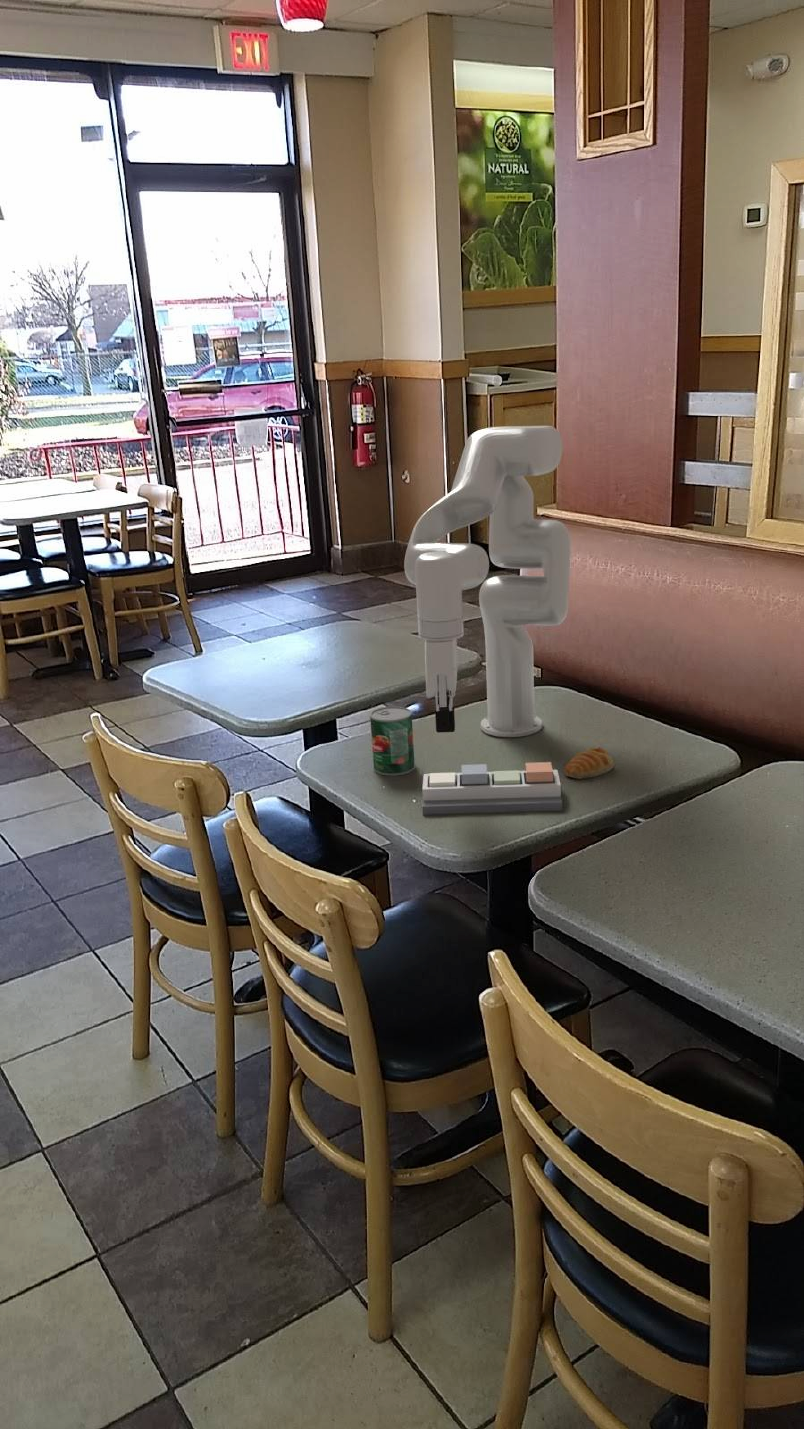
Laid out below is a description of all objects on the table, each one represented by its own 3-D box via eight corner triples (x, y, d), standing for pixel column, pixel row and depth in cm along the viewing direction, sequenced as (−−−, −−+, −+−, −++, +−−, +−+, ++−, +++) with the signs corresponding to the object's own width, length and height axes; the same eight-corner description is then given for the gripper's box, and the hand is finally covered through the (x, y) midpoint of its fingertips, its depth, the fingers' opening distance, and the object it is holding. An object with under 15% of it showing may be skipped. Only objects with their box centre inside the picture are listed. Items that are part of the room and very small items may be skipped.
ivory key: (430, 782, 195) (430, 773, 194) (455, 781, 195) (455, 772, 194) (429, 792, 191) (429, 782, 190) (455, 791, 190) (454, 782, 190)
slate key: (461, 774, 194) (461, 765, 194) (486, 773, 194) (486, 764, 193) (461, 784, 190) (461, 774, 189) (487, 783, 190) (487, 773, 189)
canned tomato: (423, 765, 210) (420, 710, 206) (396, 778, 204) (393, 722, 200) (391, 757, 214) (388, 703, 211) (364, 770, 209) (360, 715, 205)
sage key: (494, 780, 194) (493, 771, 194) (519, 779, 194) (518, 770, 193) (494, 790, 190) (494, 780, 189) (520, 789, 190) (520, 780, 189)
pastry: (584, 785, 197) (584, 765, 196) (555, 776, 202) (554, 756, 200) (616, 769, 203) (616, 750, 202) (587, 761, 208) (587, 742, 206)
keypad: (425, 787, 199) (424, 768, 198) (556, 783, 198) (556, 764, 197) (422, 814, 188) (421, 795, 187) (562, 810, 186) (561, 790, 185)
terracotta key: (525, 772, 193) (525, 762, 193) (551, 771, 193) (550, 762, 192) (527, 782, 189) (526, 772, 189) (552, 781, 189) (552, 771, 188)
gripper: (420, 617, 191) (425, 716, 197) (415, 640, 177) (421, 747, 183) (463, 615, 190) (467, 715, 196) (462, 638, 176) (467, 745, 182)
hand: (445, 730), depth 189 cm, fingers closed
